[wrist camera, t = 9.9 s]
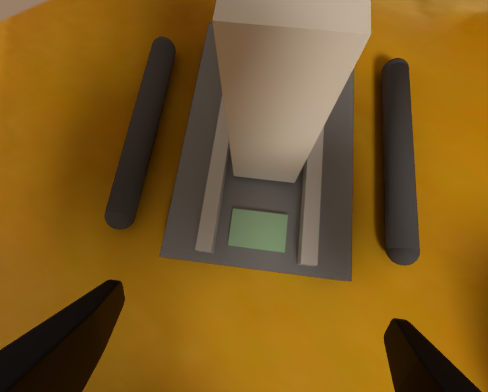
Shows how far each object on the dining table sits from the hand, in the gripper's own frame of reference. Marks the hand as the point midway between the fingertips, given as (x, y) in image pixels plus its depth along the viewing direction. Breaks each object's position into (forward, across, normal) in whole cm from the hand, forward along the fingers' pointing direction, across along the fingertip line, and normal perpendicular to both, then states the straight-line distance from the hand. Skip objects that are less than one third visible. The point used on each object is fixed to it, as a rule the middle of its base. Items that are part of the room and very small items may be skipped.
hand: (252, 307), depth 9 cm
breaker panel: (+11, 0, -2) cm, 11 cm away
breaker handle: (+8, 0, -2) cm, 9 cm away
